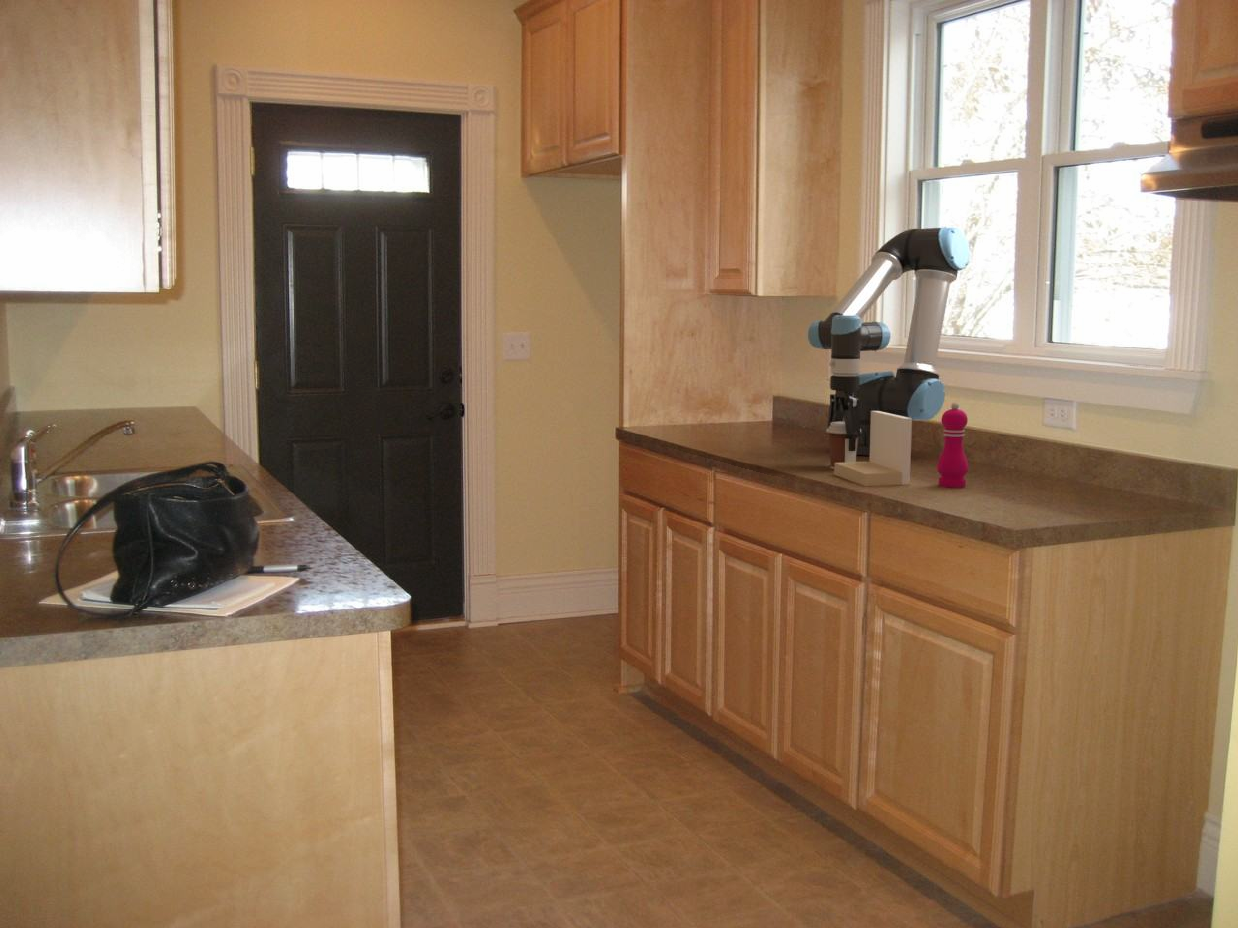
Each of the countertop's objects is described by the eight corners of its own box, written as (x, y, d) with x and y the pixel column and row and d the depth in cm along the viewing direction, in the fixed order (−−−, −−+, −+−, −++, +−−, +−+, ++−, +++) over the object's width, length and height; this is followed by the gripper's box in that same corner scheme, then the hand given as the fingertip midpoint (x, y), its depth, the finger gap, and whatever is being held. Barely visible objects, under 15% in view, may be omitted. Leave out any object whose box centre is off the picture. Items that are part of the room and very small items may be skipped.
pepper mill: (951, 489, 290) (954, 404, 287) (930, 484, 296) (932, 401, 293) (974, 486, 293) (977, 403, 290) (953, 482, 299) (956, 400, 296)
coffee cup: (821, 469, 321) (822, 423, 319) (829, 465, 329) (830, 420, 327) (856, 471, 317) (857, 425, 316) (863, 466, 326) (864, 421, 324)
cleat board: (876, 473, 315) (878, 410, 312) (909, 484, 296) (911, 418, 294) (834, 474, 312) (835, 411, 310) (865, 486, 294) (867, 419, 292)
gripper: (815, 372, 329) (813, 455, 333) (848, 378, 308) (845, 467, 312) (842, 372, 331) (839, 455, 334) (876, 377, 310) (873, 466, 313)
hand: (842, 460), depth 323 cm, fingers closed on coffee cup, 9 cm apart
